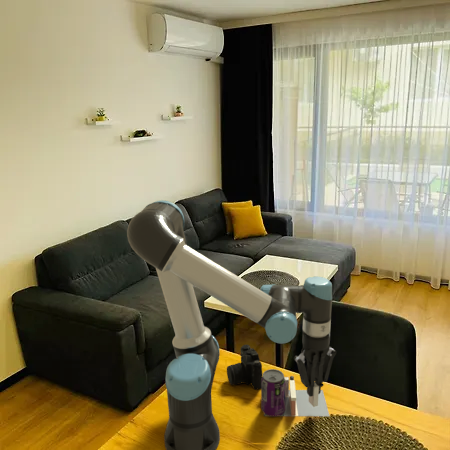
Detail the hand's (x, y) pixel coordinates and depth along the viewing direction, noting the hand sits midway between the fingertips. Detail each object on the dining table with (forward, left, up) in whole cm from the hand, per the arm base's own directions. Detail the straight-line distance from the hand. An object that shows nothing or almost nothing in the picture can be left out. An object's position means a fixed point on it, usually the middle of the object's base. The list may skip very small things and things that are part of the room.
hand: (313, 403), depth 128 cm
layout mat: (-5, +4, -3) cm, 7 cm away
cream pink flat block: (-6, +2, -3) cm, 7 cm away
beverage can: (-12, +1, -3) cm, 12 cm away
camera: (-21, +16, -4) cm, 27 cm away
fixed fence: (-9, +8, -3) cm, 13 cm away
